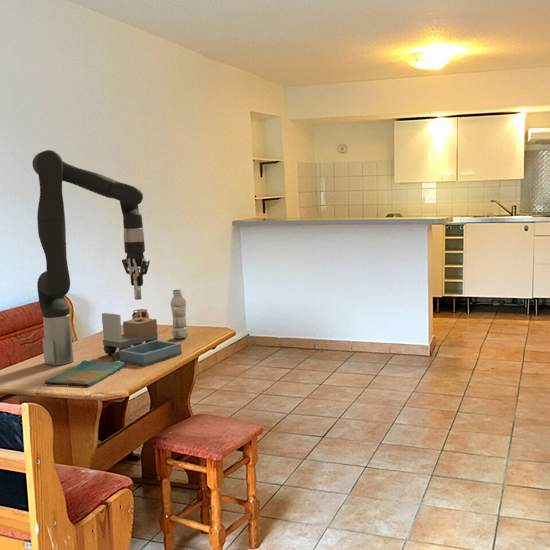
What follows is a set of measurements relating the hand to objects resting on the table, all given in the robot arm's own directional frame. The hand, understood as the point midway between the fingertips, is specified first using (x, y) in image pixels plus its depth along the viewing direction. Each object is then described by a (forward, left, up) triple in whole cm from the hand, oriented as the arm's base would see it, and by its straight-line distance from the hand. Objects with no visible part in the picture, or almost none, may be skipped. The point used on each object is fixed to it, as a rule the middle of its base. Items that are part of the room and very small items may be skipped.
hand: (137, 285), depth 243 cm
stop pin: (0, 0, -5) cm, 5 cm away
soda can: (+11, +12, -25) cm, 30 cm away
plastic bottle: (+19, -2, -25) cm, 31 cm away
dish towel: (-34, -11, -26) cm, 44 cm away
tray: (-8, -14, -25) cm, 29 cm away
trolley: (-5, 0, -25) cm, 25 cm away
